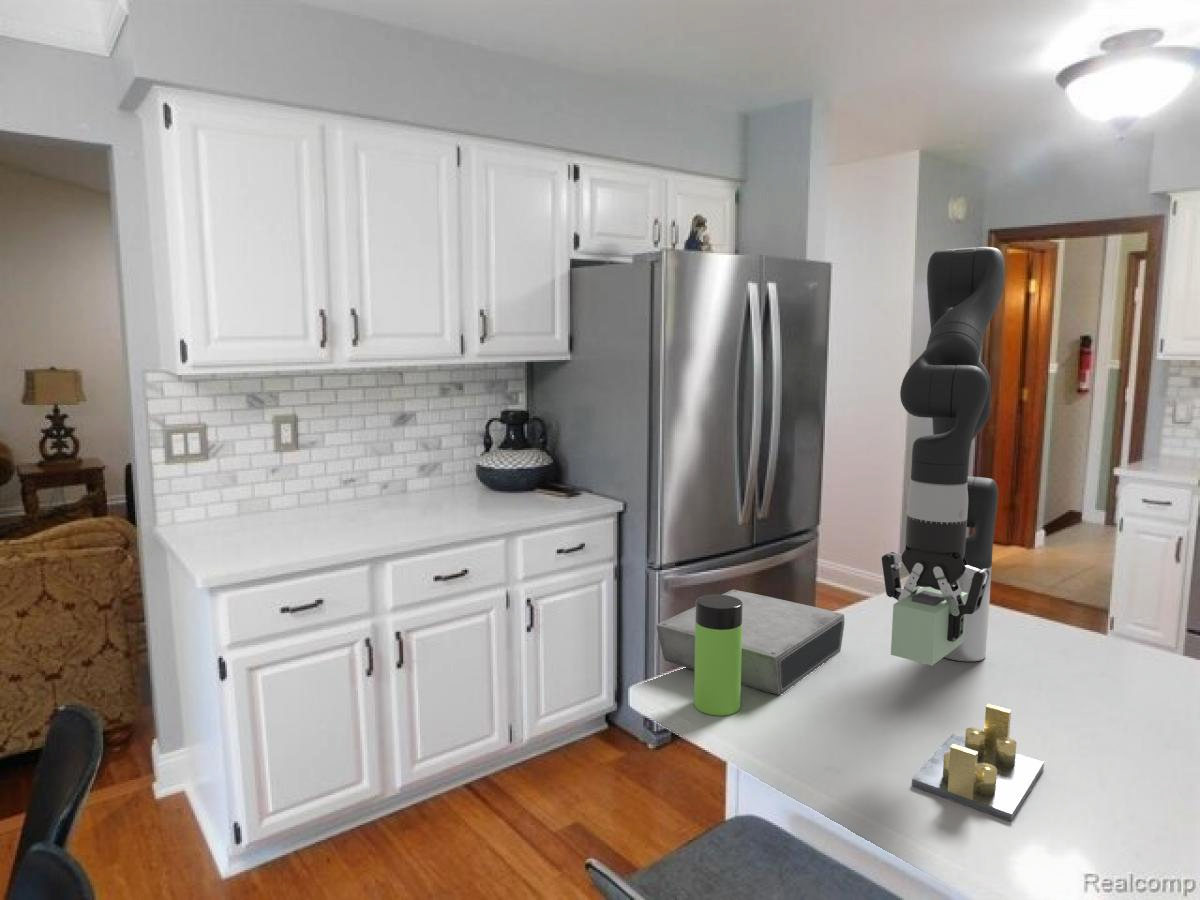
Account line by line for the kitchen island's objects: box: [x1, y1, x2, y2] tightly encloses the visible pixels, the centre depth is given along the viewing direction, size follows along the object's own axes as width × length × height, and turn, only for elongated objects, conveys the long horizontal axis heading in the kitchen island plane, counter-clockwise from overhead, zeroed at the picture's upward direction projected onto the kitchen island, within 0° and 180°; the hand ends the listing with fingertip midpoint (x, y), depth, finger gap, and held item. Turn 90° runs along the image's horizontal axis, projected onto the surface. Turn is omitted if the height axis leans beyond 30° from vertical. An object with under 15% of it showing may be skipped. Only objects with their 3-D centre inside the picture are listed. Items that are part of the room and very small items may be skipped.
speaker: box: [656, 589, 845, 696], centre depth 148 cm, size 24×8×30 cm
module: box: [890, 587, 968, 667], centre depth 110 cm, size 12×6×8 cm, turn 137°
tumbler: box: [693, 593, 743, 717], centre depth 127 cm, size 8×8×17 cm
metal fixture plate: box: [911, 703, 1045, 822], centre depth 107 cm, size 16×12×7 cm
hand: (929, 634), depth 111 cm, fingers closed on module, 5 cm apart
